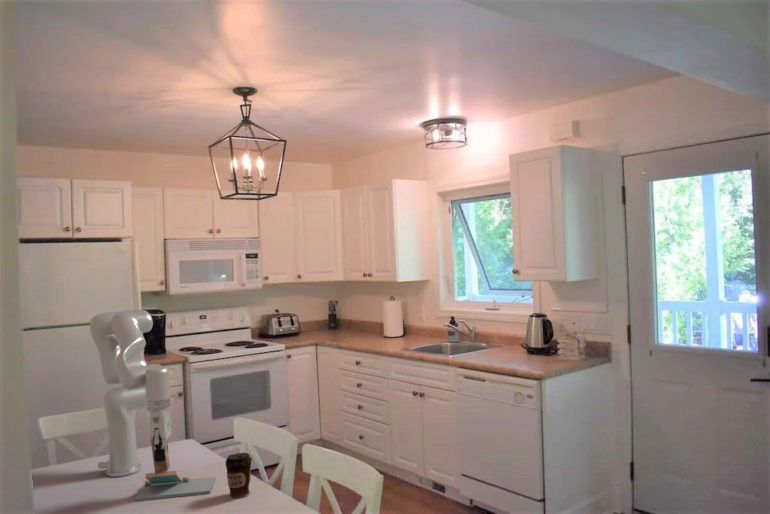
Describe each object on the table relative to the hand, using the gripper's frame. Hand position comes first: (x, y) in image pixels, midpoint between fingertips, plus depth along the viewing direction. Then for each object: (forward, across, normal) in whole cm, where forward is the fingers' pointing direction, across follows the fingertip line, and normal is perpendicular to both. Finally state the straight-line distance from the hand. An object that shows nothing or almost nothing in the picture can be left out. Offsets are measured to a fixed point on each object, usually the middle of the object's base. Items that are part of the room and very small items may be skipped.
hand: (161, 458), depth 207 cm
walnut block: (+4, 0, 0) cm, 4 cm away
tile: (+8, +2, 0) cm, 8 cm away
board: (+12, +2, -4) cm, 13 cm away
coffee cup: (+12, -8, -26) cm, 30 cm away
